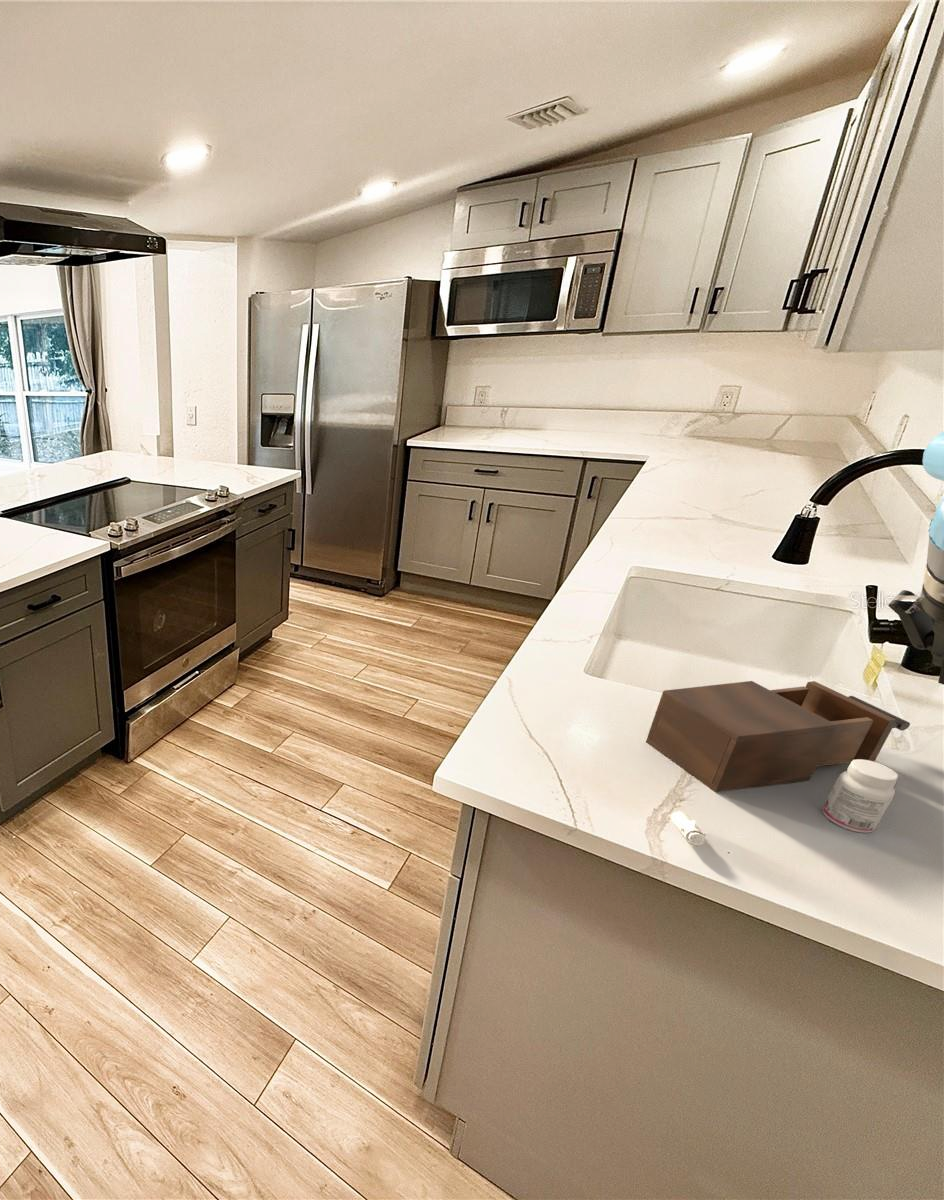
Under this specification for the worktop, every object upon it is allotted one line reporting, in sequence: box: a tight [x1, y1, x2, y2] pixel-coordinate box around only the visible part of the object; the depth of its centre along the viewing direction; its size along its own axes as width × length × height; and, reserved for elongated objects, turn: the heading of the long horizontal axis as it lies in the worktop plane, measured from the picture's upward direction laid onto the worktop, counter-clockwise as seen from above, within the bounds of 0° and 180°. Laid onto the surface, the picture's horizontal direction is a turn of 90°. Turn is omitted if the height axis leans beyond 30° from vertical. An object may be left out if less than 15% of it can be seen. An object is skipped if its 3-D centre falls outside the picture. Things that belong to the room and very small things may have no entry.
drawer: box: [769, 680, 911, 767], centre depth 91 cm, size 19×10×8 cm, turn 96°
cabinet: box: [645, 680, 837, 793], centre depth 90 cm, size 15×12×10 cm
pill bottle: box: [822, 759, 899, 834], centre depth 78 cm, size 5×5×8 cm
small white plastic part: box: [670, 811, 707, 846], centre depth 79 cm, size 4×6×3 cm, turn 134°
